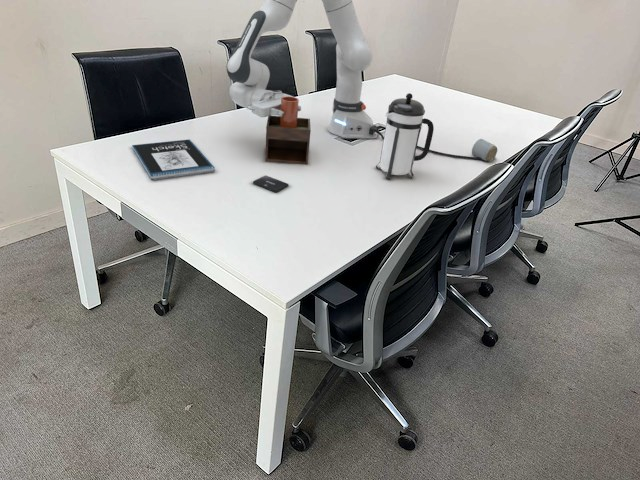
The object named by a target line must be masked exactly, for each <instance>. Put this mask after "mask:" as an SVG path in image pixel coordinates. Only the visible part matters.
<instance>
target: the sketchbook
mask: <svg viewBox="0 0 640 480" xmlns="http://www.w3.org/2000/svg"><path fill="white" fill-rule="evenodd" d="M131 147H132V150H133V151H134V153H135V154H136V156H137V158H138V159H139V161H140V163H141V165H142V166H143V168H144V169H145V171H146V173H147V175H148V176H149V178H150V179H151V180H153V181H156V180H157V181H159V180H164V179H172V178H179V177H185V176H186V177H187V176H195V175H200V174H207V173H208V174H209V173H214V172H215V171H216V167H215V166H214V165H213V164H212V163H211V162H210V161H209V159H208V158H207V157H206V156H205V155H204V154H203V153H202V152H201V150H200V149H199V148H198V147H197V146H196V145H195V144H194V143H193V142H192V140H191V139H190V138H189V139H180V140H168V141H161V142H149V143H140V144H139V143H138V144H132V145H131Z"/></svg>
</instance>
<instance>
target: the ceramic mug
mask: <svg viewBox="0 0 640 480" xmlns="http://www.w3.org/2000/svg"><path fill="white" fill-rule="evenodd" d="M471 155H472V157H479V158H481V159H483V160H482V161H484V162H491V161H493V160H494V159H495V157H496V156H497V155H498V147H497V146H496V145H495V144H493V143H491V142H489V141H487V140H485V139H484V138H479V139H477V140H476V141H475V142H474V144H473V146H472V148H471Z"/></svg>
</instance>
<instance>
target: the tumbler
mask: <svg viewBox="0 0 640 480" xmlns="http://www.w3.org/2000/svg"><path fill="white" fill-rule="evenodd" d="M299 101H300V100H299V98H298V97H296V98H295V96H293V97H282V98H281V110H282V111H284V116H280V127H286V128H297V118H299V117H298V116H299V111H298V106H299V103H300V102H299Z"/></svg>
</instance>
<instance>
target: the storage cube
mask: <svg viewBox="0 0 640 480" xmlns="http://www.w3.org/2000/svg"><path fill="white" fill-rule="evenodd" d="M311 127H312V126H311V118H308V117H307V118H306V117H297V128H286V127H280V116H278V115H271V116H267V121H266V126H265V154H264V155H265V156H264V158H265V159H264V161H265V163H278V164H279V163H280V164H281V163H282V164H294V165H308V164H309V155H310V142H311V131H312V129H311Z"/></svg>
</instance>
